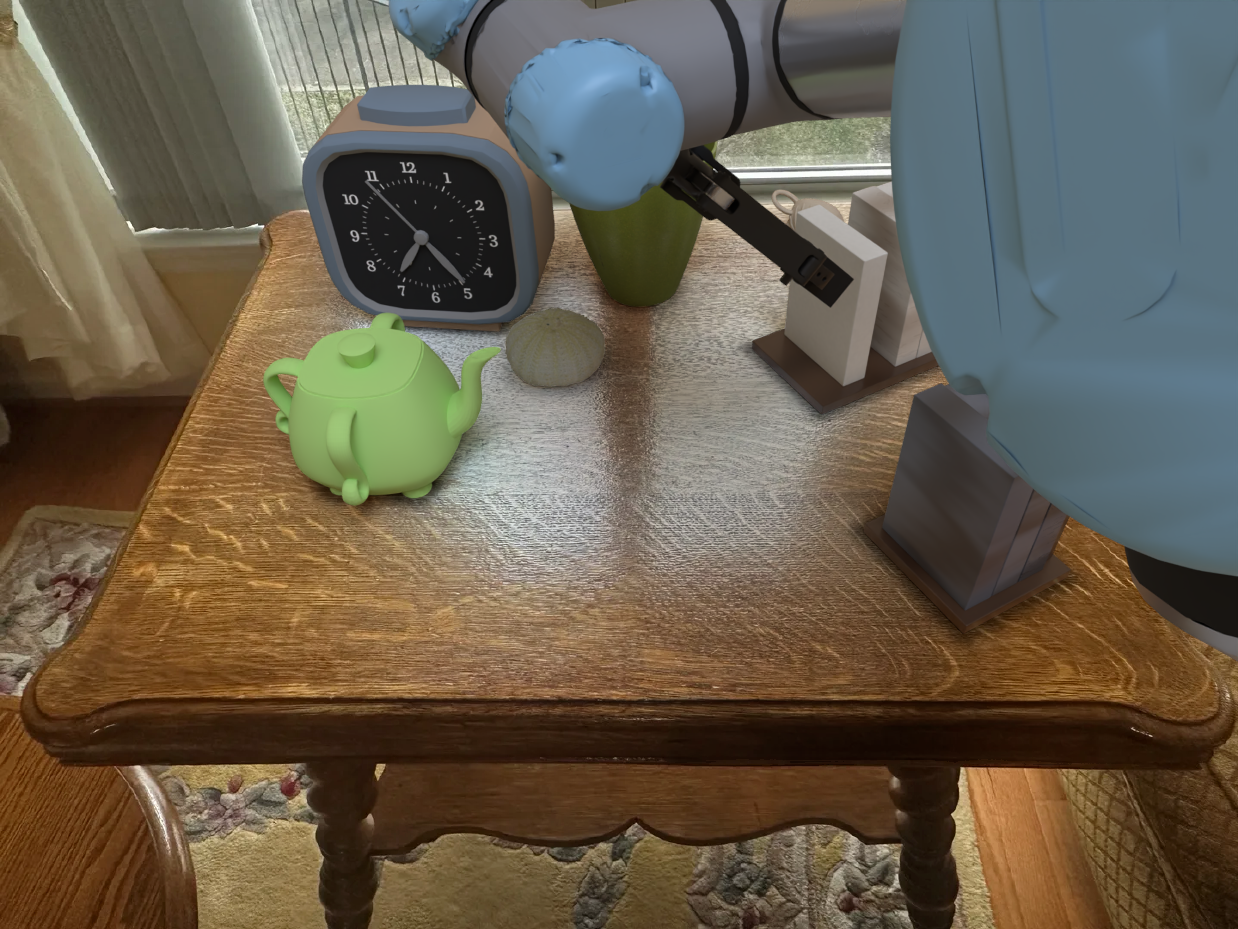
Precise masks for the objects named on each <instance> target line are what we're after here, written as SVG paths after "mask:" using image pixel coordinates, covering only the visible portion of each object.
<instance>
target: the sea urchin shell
mask: <svg viewBox="0 0 1238 929" xmlns="http://www.w3.org/2000/svg"><path fill="white" fill-rule="evenodd" d="M504 345H505V346H504V347H505V352H504V354H505V359H507V362H508V363H509V365H510V369H511V370H512V372H513V373H514V374H515V375H516V376H517V377H518V378H520V379H521V380H522V382H524V383H526V384H529V385H532V386H533V387H545V388H547V387H548V388H552V387H567V386H572V385H575V384H580V383H582V382H584V381H586V380H587V379H589V378H591V376H592V375H593V374H594V373H595V372H596V371H597V370H599V367H601V364H602V362H603V359H604V357H605V353H606V337H605V335H604V332H603V330H602V329H601V327H600V325H598V323H596V321H593V320H591V319H590V318H589V317H587V316H585V315H584V314H581V313H577V312H575V311H573V310H571V309H563V308H560V307H549V308H546V309H544V310H537V311H535V312H533V313H531V314H527V315H526V316H524V317H523V318H521V320H518V321H517V322H515V323H514V324H513V325H512V327H511V328H510V329H509V331H508V332H507V334H506V337H505V344H504Z"/></svg>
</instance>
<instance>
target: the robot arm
mask: <svg viewBox="0 0 1238 929" xmlns="http://www.w3.org/2000/svg"><path fill="white" fill-rule="evenodd" d="M388 14H389V18H390V21H391V23H392V26H393V27H394V28H395V30H396V31H397V32H398V33H399V34H400V35H401V36H402V37H403V38H405V39H406V40H407V41H409V43H411V44H412V45H413V46H415V47H416V48H417V49H419V50H420V51H421V52H422V53H423V55H424V57H425V58H426V59H428V61H430V62H432V61H435V62H436V63H438V64H439V65H440V66H442V67H443V68H444V69H446V70H447V71H449V73H451V74H452V75H454V76H455V78H457V79H458V80H459V81H460V82H461V83H462V84H463V86H464V87H465V89H468V90H469V92H470V93H471V94H472V96H473V97H474V98H475V99H476V101H477V102H478V103H479V104H480V105H481V106H482V107H483V108H484V109H485V110H486V111H487V112H488V113H489V114H490V116H491V117H492V118H493V120H494V121H495V122H496V123H497V125H498V126H499V127H500V129H501V130H502V131H503V133H504V134H505V135H506V137H507V138H508V139H509V141H510V144H511V146H512V147H513V148H514V149H515V151H516V153H517V155H518V157H519V159H520V160H521V161H522V162H523V163H524V164H525V165H526V166H527V168H529V169H531V170H532V171H533V172H534V173H535V174H536V175H537V176H538V177H539V178H541V179H543V180H544V181H545V182H546V183H547V184H548V185H549V187H550V188H551V191H553V192H554V193H555V194H556V195H557V196H558V197H559V198H561V199H562V200H564V201H565V202H567V203H568V204H569V203H570V204H572V205H574V206H577V207H579V208H583V209H587V210H594V211H610V210H616V209H620V208H623V207H626V206H629V205H631V204H633V203H635V202H637V201H639V200H640V197H641V196H642V195H643V194H645V193H646V192H647V191H648V190H650V189H651V188H652V187H653V186H658V185H659V184H660V183H661V182H662V184H661V186H660V188H661V189H663V190H664V191H665V192H666V193H668V194H669V195H670V196H671V197H673V198H674V199H676V200H680V201H684V202H685V203H687V204H688V205H689V206H690V207H692V208H693V209H694V210H695V211H697V212H698V213H699V214H701V215H702V216H703V219H706V220H708V221H714V220H717V221H719V222H721V223H722V224H723V225H725V227H727V228H728V229H729V230H731V231H732V232H733V233H735V234H736V235H737V236H739V237H740V238H741V239H743V240H744V241H745V242H746V243H748V244H749V245H750V246H752V247H753V248H754V249H755V250H757V251H758V252H759V253H760V254H762V255H763V256H764V257H766V258H767V259H768V260H769V261H771V263H773V264H774V265H776V266H777V267H778V268H779V270H780V271H781V272H782V273H783V275H781V277H780V278H778V281H779V282H780V283H781V284H783V285H784V286H785V287H787V286H789V285H790V281H791V280H792V279H793V281H794V282H796V283H797V284H798V285H801V286H802V287H803V288H805V289H806V290H807V291H809V292H810V293H811V294H813V295H814V296H815V297H817V298H818V299H819V300H821V301H822V302H823V303H825V304H826V305H827V306H829V307H830V308H831V307H832V306H833V304H834V303H835V302H836V301H837V300H838V298H839V297H840V296H841V295H842V293H843V292H844V291H845V290H846V289H847V287H848V286H849V285H850V284H851V283H852V281H853V280H854V279H853V278H852V277H851V276H850V275H849V274H847V273H846V272H845V271H844V270H843V269H841V268H840V267H839V266H838V265H837V264H835V263H834V262H833V261H832V260H831V259H829V258H828V257H827V256H826V255H825V254H824V253H825V252H823V251H822V250H821V249H820V248H819V249H818V248H816V247H815V246H814V245H813V244H812V243H811V242H809V241H808V240H806V239H805V238H802V237H801V236H800V235H799V234H797V233H796V232H795V231H794V230H792V229H791V228H790V227H789V226H788V225H787V223H786V222H784V221H783V220H782V219H780V218H779V217H778V216H776V215H775V214H774V213H773V212H771V211H770V209H769V208H767V207H765V206H764V205H763V204H762V203H760V202H759V201H757V199H755V198H754V197H753V196H751V195H750V194H749V193H748V192H746V191H745V190H744V189H743V188H742V187H741V184H742V183H741V180H740V178H739V177H738V176H737V175H735V174H734V173H733V172H732V171H731V170H729V169H728V168H727V167H725V166H724V165H723V164H722V163H721V162H719V161H718V160H717V159H716V158H715V159H714V157H713V154H712V152H711V151H710V150H709V149H708V148H706V147H705V146H704V145H705V144H709V143H712V142H716V141H718V142H719V141H721V140H725V139H729V138H731V137H732V136H737V135H742V134H745V133H750V132H755V131H759V130H764V129H768V128H772V127H776V126H780V125H785V124H790V123H798V122H816V121H818V122H819V121H831V120H843V119H862V118H863V119H865V118H866V119H867V118H868V119H869V118H890V127H889V128H890V129H889V148H890V149H889V152H890V153H889V154H890V155H889V156H890V177H891V181H892V192H893V202H894V212H895V220H896V228H897V235H898V241H899V246H900V251H901V256H902V261H903V265H904V269H905V273H906V278H907V282H908V285H909V288H910V291H911V294H912V297H913V300H914V304H915V307H916V310H917V313H918V316H919V319H920V323H921V326H922V329H923V331H924V334H925V336H926V339H927V341H928V344H929V346H930V349H931V351H932V353H933V355H934V357H935V359H936V361H937V363H938V366H939V369H940V371H941V372H942V375H943V376H944V378H945V379H946V381H947V384H949V385H950V386H951V387H952V388H953V389H954V390H955V391H957V392H959V393H961V394H963V395H977V394H986V395H987V396H988V398H989V411H990V413H989V418H988V424H987V429H986V437H987V443H988V444H989V445H990V446H991V447H992V448H993V449H994V450H995V452H996V453H997V454H998V455H999V456H1000V457H1001V458H1002V459H1003V460H1004V461H1005V462H1006V463H1007V465H1008V466H1009V467H1010V468H1011V469H1012V470H1013V471H1014V472H1016V473H1017V474H1018V475H1019V476H1020V477H1021V478H1022V479H1023V480H1024V481H1025V482H1026V483H1028V484H1029V485H1030V486H1031V487H1032V488H1033V489H1034V490H1035V491H1036V492H1037V493H1039V494H1040V495H1041V496H1043V497H1044V498H1045V499H1046V500H1048V501H1049V502H1050V503H1052V504H1053V505H1054V506H1056V507H1057V508H1058V509H1059V510H1061V511H1062V512H1063V513H1065V514H1067V515H1068V516H1070V517H1069V518H1071V519H1072V520H1074V521H1076V522H1077V523H1079V524H1081V525H1082V526H1084V527H1085V528H1087V529H1089V530H1091V531H1093V532H1095V533H1097V534H1099V535H1101V536H1103V537H1105V538H1108V539H1109V540H1111V541H1113V542H1116V543H1117V544H1119V545H1122V546H1123V547H1124V553H1125V557H1126V561H1127V566H1128V569H1129V574H1130V578H1131V581H1132V584H1133V585H1134V587H1135V588H1136V590H1137V592H1138V593H1139V595H1140V596H1141V598H1142V599H1143V601H1145V603H1146V604H1148V605H1149V606H1150V607H1151V608H1152V609H1153V610H1154V611H1155V612H1156V613H1157V614H1158V615H1159V616H1160V617H1162V618H1163V619H1165V620H1166V621H1168V622H1169V623H1171V624H1172V625H1174V626H1175V627H1177V628H1178V629H1180V630H1181V631H1183V632H1184V633H1186V634H1187V635H1189V636H1191V637H1192V638H1195V639H1196V640H1198V641H1200V642H1201V643H1204V644H1206V645H1207V646H1209V647H1211V648H1213V649H1214V650H1216V651H1218V652H1220V653H1222V654H1224V655H1225V656H1226V657H1229V658H1231V659H1232V660H1234V661H1236V662H1238V0H631V1H628V2H622V3H617V4H612V5H608V6H604V7H600V8H590V7H589V5H587V4H586V3H584V2H583V1H582V0H388ZM703 161H705V162H706V163H707V164H709V165H710V166H711V167H712V168H713V169H712V168H711V167H710V166H708V165H707V164H706V163H705V162H703ZM684 191H685V192H686V193H687V194H686V193H685V192H684ZM689 195H690V196H691V197H690V196H689ZM693 198H694V199H695V200H696V201H695V200H694V199H693ZM570 204H569V205H570Z"/></svg>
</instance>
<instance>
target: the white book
mask: <svg viewBox="0 0 1238 929" xmlns="http://www.w3.org/2000/svg"><path fill="white" fill-rule="evenodd" d="M795 232H796V233H797V234H799V235H800V236H801V237H802V238H805V239H806V240H808V241H809V242H811V243H812V244H813V245H814V246H815V247H816V248H818V249H819V248H820V249H821V250H822V251H823V252H825V253H824V254H825V255H826V256H827V257H828V258H829V259H831V260H832V261H833V262H834V263H835V264H837V265H838V266H839V267H840V268H841V269H843V270H844V271H845V272H846V273H847V274H849V275H850V276H851V277H852V278H853V279H854V280H853V281H852V283H851V284H850V285H849V286H848V287H847V289H846V290H845V291H844V292H843V293H842V295H841V296H840V297H839V298H838V300H837V301H836V302H835V303H834V304H833V306H832V307H831V308H830V307H829V306H827V305H826V304H825V303H823V302H822V301H821V300H819V299H818V298H817V297H815V296H814V295H813V294H811V293H810V292H809V291H807V290H806V289H805V288H803V287H802V286H801V285H798V284H797V283H796V282H794V281H793V279H792V280H791V281H790V282H789V284H788V286H789V287H788V295H787V304H786V314H785V315H786V316H785V322H784V328H785V332H784V334H785V335H786V336H787V337H788V338H789V339H790V340H791V341H792V342H793V343H795V344H796V345H797V346H798V347H799V348H800V349H801V350H802V351H804V352H805V353H806V354H807V355H808V356H809V357H810V358H812V359H813V360H814V361H815V362H816V363H817V364H818V365H819V366H821V367H822V368H823V369H824V370H825V371H826V372H827V373H829V374H830V375H831V376H832V377H833V378H834V379H835V380H836V381H838V382H839V383H840V384H841V385H842V386H846V385H848V384H851V383H853V382H856V381H858V380H860V379H863V378H864V377H865V371H866V366H867V361H868V356H869V350H870V345H871V340H872V334H873V329H874V324H875V318H876V313H877V308H878V303H879V297H880V292H881V287H882V281H883V276H884V271H885V265H886V260H887V255H888V253H887V252H886V251H885V250H883V249H882V248H880V247H879V246H878V245H876V244H875V243H873V242H872V241H871V240H869V239H868V238H866V237H865V236H863V235H862V234H861V233H859V232H858V231H856V230H855V229H854V228H852V227H851V226H849V225H848V223H846V222H845V220H844V221H842V220H841V219H839V218H838V217H837V216H835V215H834V214H832V213H831V212H829V211H828V210H827V209H825V208H824V207H822V206H821V205H817V206H814V207H811V208H808V209H805V210H802V211H799V212H797V219H796V228H795Z"/></svg>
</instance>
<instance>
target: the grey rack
mask: <svg viewBox="0 0 1238 929" xmlns="http://www.w3.org/2000/svg"><path fill="white" fill-rule="evenodd" d="M989 413H990V411H989V398H988V396H987V395H986V394H977V395H963V394H961V393H959V392H957V391H955V390H954V389H953V388H952V387H951V386H950V385H949V383H947V384H943V383H938V384H936V385H933V386H930V387H929V388H926V389H923V390H922V391H920V392H919V391H918V392H917V393H915V394H913V397H912V402H911V405H910V410H909V415H908V419H907V422H906V426H905V430H904V435H903V439H902V443H901V448H900V452H899V456H898V460H897V464H896V468H895V473H894V476H893V481H892V484H891V490H890V494H889V496H888V500H887V506H886V510H885V513H884V514H882V515H880V516H879V517H876V518H874V519H872V520H870V521H868V522H866V523H865V524H864V527H863V533H864V534H865V535H866V536H867V537H868V538H869V539H870V540H871V541H872V542H873V543H874V544H875V545H876V547H878V548H879V550H881V552H883V554H884V555H885V556H886V557H887V558H888V559H889V560H891V562H892V563H893V564H894V565H895V566H896V567H897V568H898V569H899V570H900V571H901V572H902V573H903V574H904V575H905V576H906V577H907V578H908V579H909V580H910V581H911V582H912V584H914V585H915V587H916V588H918V589H919V590H920V592H922V594H924V596H926V597H927V599H929V601H930V602H931V603H933V604H934V606H935V607H936V608H937V609H938V610H939V611H940V612H941V613H942V614H943V615H944V616H945V617H946V618H947V619H948V620H949V621H950V622H951V623H952V624H953V625H954V626H955V627H956V628H957V629H958V630H959V631H960V632H961V633H962V634H966V633H968V632H970V631H972V630H973V629H975V628H977V627H979V626H981V625H983V624H984V623H986V622H988V621H990V620H992V619H993V618H996V617H997V616H999V615H1001V614H1003V613H1005V612H1007V611H1009V610H1010V609H1012V608H1014V607H1016V606H1017V605H1020V604H1021V603H1023V602H1025V601H1027V600H1028V599H1030V598H1032V597H1034V596H1035V595H1036V596H1037V595H1038V594H1040V593H1041V592H1044V591H1045V590H1047V589H1049V588H1051V587H1053V586H1055V585H1056V584H1058V583H1061V582H1062V581H1063V580H1066V579H1067V578H1068V577H1069V575H1070V572H1071V570H1072V569H1071V568H1070V567H1069V566H1068V565H1067V564H1066V563H1064V562H1063V561H1062V560H1061V559H1060V558H1059V557H1057V556H1056V555H1055V554H1054V552H1055V551H1056V549H1057V545H1058V544H1059V542H1060V539H1061V537H1062V535H1063V533H1064V530H1065V528H1066V526H1067V524H1068V521H1069V519H1070V518H1071V517H1070V516H1068V515H1067V514H1065V513H1063V512H1062V511H1061V510H1059V509H1058V508H1057V507H1056V506H1054V505H1053V504H1052V503H1050V502H1049V501H1048V500H1046V499H1045V498H1044V497H1043V496H1041V495H1040V494H1039V493H1037V492H1036V491H1035V490H1034V489H1033V488H1032V487H1031V486H1030V485H1029V484H1028V483H1026V482H1025V481H1024V480H1023V479H1022V478H1021V477H1020V476H1019V475H1018V474H1017V473H1016V472H1014V471H1013V470H1012V469H1011V468H1010V467H1009V466H1008V465H1007V463H1006V462H1005V461H1004V460H1003V459H1002V458H1001V457H1000V456H999V455H998V454H997V453H996V452H995V450H994V449H993V448H992V447H991V446H990V445H989V444H988V443H987V437H986V429H987V424H988V418H989Z"/></svg>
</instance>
